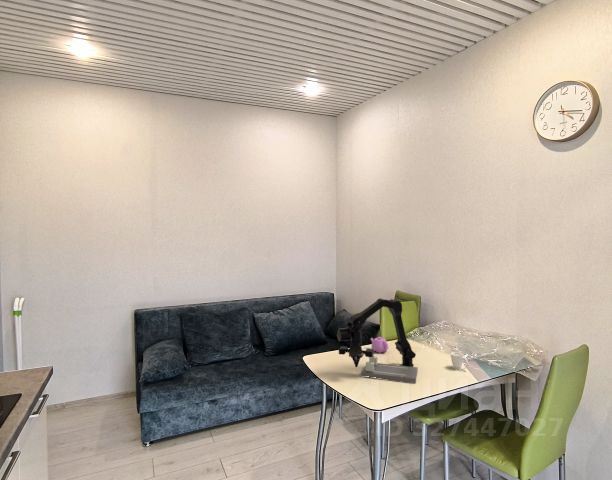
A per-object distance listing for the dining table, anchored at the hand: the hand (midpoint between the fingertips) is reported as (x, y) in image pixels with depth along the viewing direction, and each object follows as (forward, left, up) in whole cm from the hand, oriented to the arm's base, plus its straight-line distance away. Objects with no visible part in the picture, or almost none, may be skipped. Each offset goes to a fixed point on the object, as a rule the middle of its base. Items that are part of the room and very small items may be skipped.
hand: (356, 367), depth 202 cm
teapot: (-41, +5, -4) cm, 42 cm away
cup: (-24, +53, -4) cm, 59 cm away
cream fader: (-10, +7, -1) cm, 12 cm away
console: (-5, +17, -4) cm, 19 cm away
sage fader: (0, +7, -1) cm, 7 cm away
